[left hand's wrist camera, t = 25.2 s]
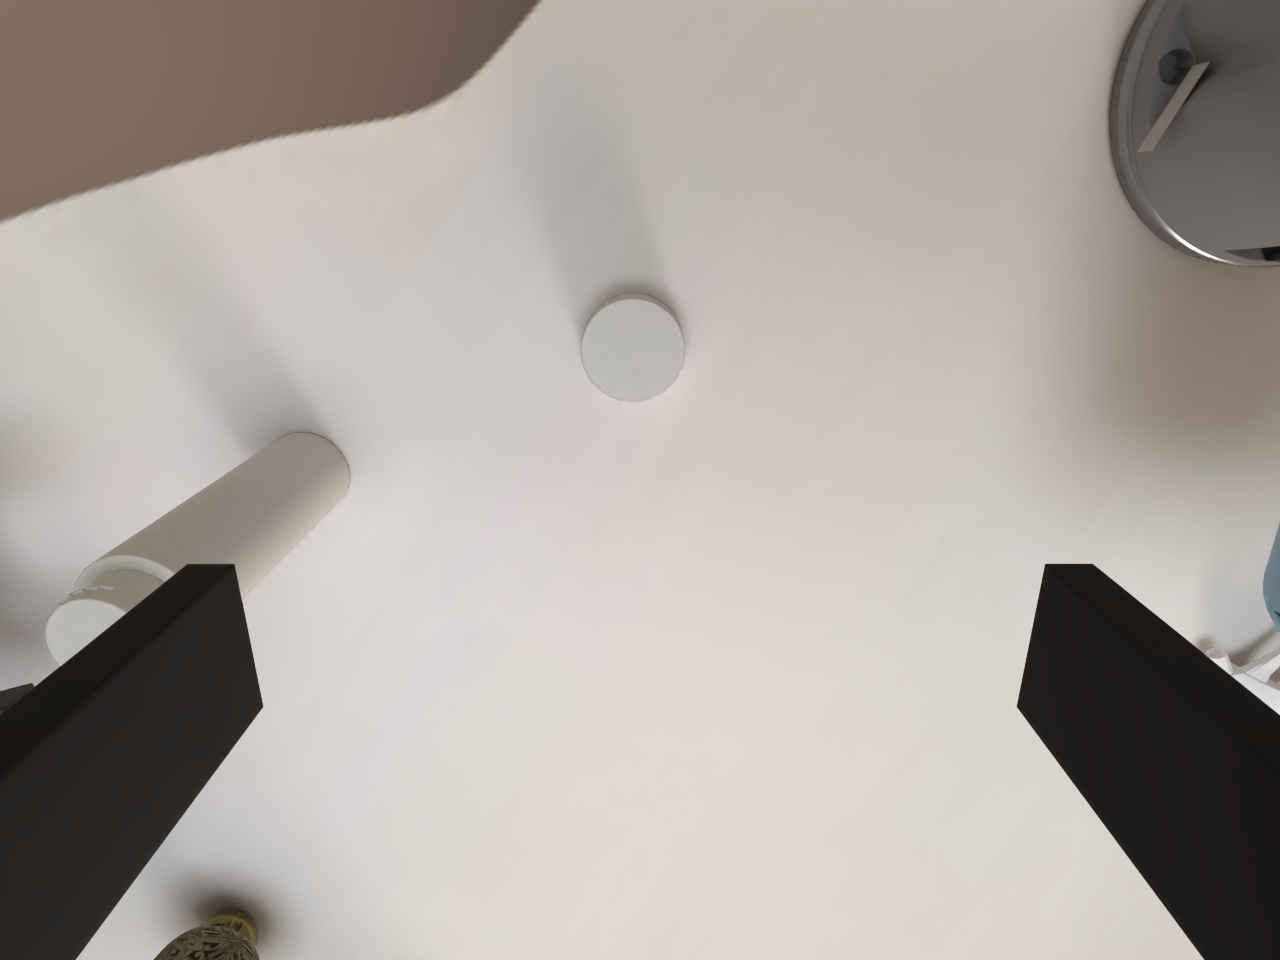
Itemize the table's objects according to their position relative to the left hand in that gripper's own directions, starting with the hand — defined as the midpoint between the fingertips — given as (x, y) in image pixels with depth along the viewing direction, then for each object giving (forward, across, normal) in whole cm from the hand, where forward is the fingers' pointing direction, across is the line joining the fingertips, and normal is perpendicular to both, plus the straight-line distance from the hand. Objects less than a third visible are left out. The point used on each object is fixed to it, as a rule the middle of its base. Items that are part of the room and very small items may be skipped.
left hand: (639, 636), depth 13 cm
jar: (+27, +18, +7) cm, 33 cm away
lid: (+25, 0, 0) cm, 25 cm away
